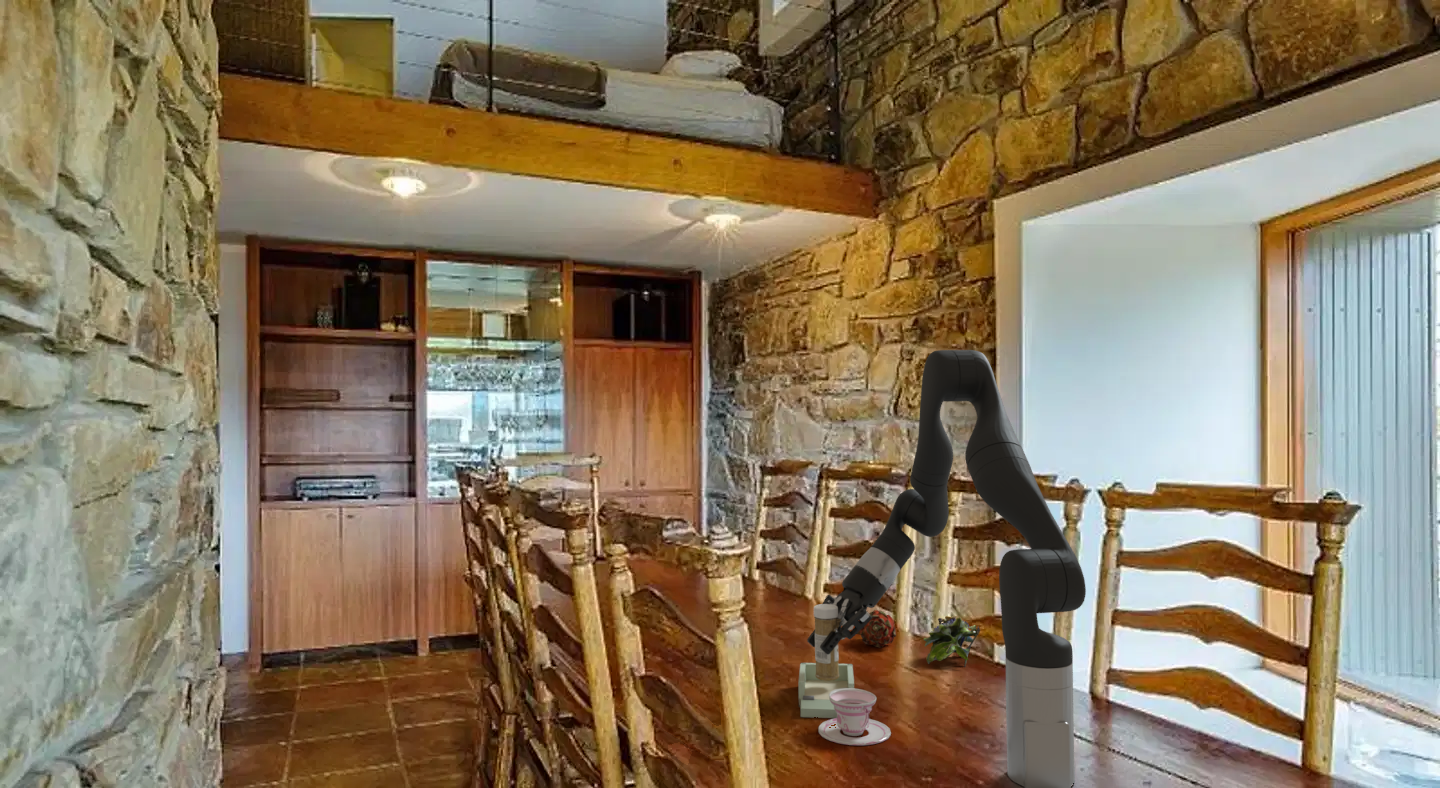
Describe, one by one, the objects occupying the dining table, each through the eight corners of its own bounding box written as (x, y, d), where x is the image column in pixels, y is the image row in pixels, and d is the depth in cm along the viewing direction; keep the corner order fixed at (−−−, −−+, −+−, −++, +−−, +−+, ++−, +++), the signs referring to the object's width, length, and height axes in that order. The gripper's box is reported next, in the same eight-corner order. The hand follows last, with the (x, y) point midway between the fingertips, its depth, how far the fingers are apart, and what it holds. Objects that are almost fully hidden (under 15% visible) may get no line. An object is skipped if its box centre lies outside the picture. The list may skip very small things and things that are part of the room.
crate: (855, 718, 152) (855, 692, 152) (797, 716, 153) (797, 691, 153) (852, 687, 169) (852, 664, 169) (800, 685, 170) (800, 662, 170)
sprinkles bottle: (844, 678, 163) (843, 606, 163) (825, 683, 161) (824, 609, 161) (828, 672, 167) (827, 601, 167) (809, 676, 165) (808, 605, 165)
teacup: (805, 726, 149) (805, 689, 150) (866, 716, 154) (866, 681, 154) (840, 751, 138) (839, 712, 138) (905, 740, 143) (904, 702, 143)
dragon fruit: (883, 660, 192) (865, 653, 204) (911, 635, 194) (892, 629, 206) (860, 629, 192) (843, 624, 204) (888, 604, 194) (869, 600, 206)
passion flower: (947, 681, 189) (967, 631, 193) (979, 687, 179) (999, 633, 184) (907, 656, 187) (928, 605, 191) (937, 659, 177) (959, 606, 181)
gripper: (840, 558, 174) (786, 626, 169) (880, 570, 160) (823, 645, 156) (863, 582, 176) (811, 650, 171) (904, 596, 163) (849, 670, 158)
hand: (817, 647), depth 163 cm, fingers closed on sprinkles bottle, 4 cm apart
